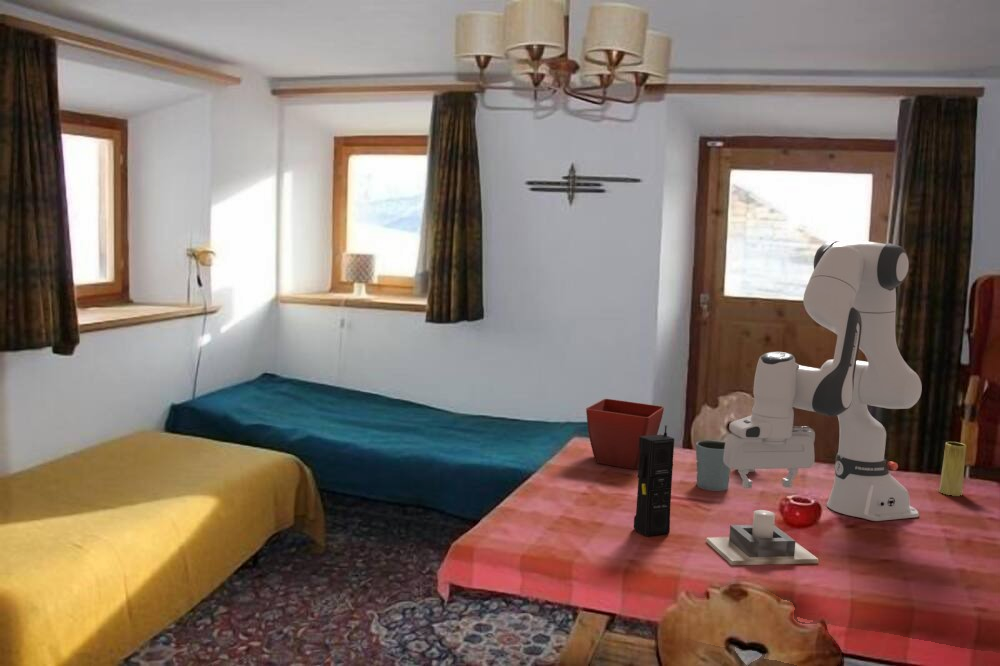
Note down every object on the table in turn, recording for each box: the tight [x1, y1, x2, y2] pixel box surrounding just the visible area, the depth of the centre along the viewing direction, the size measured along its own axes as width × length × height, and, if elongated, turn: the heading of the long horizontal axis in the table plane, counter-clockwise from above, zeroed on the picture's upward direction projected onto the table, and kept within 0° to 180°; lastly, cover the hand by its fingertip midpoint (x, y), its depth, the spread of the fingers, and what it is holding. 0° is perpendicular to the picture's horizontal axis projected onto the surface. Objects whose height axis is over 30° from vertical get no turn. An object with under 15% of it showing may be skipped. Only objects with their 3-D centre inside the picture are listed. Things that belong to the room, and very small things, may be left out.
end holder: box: [705, 524, 819, 566], centre depth 203 cm, size 20×14×4 cm
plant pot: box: [585, 398, 665, 470], centre depth 273 cm, size 19×19×17 cm
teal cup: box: [695, 439, 732, 492], centre depth 252 cm, size 10×10×12 cm
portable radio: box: [633, 425, 675, 537], centre depth 212 cm, size 8×6×25 cm
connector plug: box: [752, 509, 776, 538], centre depth 203 cm, size 4×4×8 cm
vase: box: [938, 441, 967, 497], centre depth 256 cm, size 6×6×14 cm
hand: (766, 487), depth 202 cm, fingers open, 8 cm apart
